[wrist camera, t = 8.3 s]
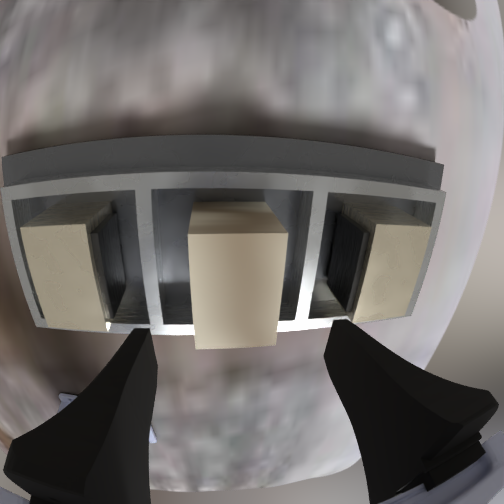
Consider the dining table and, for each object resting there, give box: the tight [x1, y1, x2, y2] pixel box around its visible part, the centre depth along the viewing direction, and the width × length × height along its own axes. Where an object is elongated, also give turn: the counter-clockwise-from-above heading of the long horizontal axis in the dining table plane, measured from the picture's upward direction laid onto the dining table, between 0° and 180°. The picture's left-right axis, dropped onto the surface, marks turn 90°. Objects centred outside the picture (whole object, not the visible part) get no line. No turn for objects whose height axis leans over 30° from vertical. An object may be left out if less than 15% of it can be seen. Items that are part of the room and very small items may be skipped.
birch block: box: [188, 202, 288, 349], centre depth 15 cm, size 4×6×5 cm, turn 177°
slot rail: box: [1, 134, 446, 335], centre depth 16 cm, size 30×13×5 cm, turn 87°
